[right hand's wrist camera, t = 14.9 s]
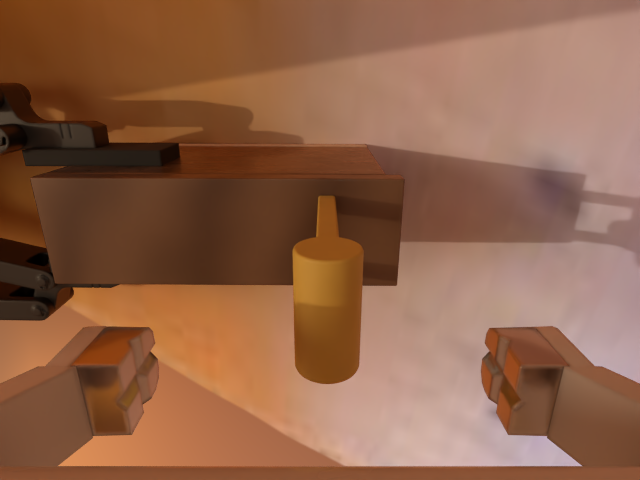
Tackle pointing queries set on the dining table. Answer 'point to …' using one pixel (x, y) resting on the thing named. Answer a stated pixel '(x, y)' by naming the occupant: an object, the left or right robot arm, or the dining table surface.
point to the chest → (255, 160)
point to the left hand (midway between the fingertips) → (176, 207)
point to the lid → (236, 242)
